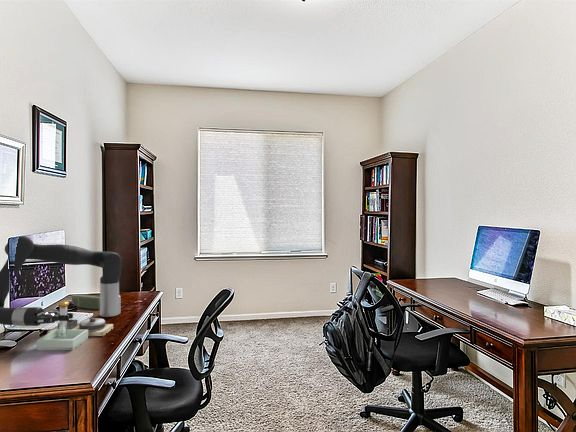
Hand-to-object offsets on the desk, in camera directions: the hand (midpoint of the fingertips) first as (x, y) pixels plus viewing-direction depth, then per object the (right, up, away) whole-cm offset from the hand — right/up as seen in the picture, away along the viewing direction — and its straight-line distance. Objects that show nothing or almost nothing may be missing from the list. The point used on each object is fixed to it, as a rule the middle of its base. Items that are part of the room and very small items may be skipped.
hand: (70, 316), depth 169 cm
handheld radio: (-21, -10, +60) cm, 64 cm away
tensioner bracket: (-4, -11, +16) cm, 20 cm away
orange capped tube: (-3, -8, 0) cm, 9 cm away
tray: (-3, -11, 0) cm, 12 cm away
